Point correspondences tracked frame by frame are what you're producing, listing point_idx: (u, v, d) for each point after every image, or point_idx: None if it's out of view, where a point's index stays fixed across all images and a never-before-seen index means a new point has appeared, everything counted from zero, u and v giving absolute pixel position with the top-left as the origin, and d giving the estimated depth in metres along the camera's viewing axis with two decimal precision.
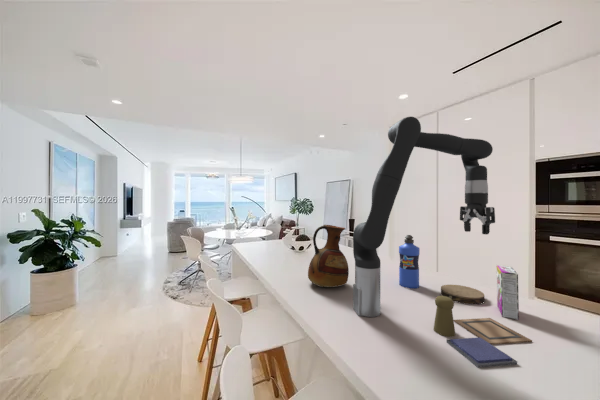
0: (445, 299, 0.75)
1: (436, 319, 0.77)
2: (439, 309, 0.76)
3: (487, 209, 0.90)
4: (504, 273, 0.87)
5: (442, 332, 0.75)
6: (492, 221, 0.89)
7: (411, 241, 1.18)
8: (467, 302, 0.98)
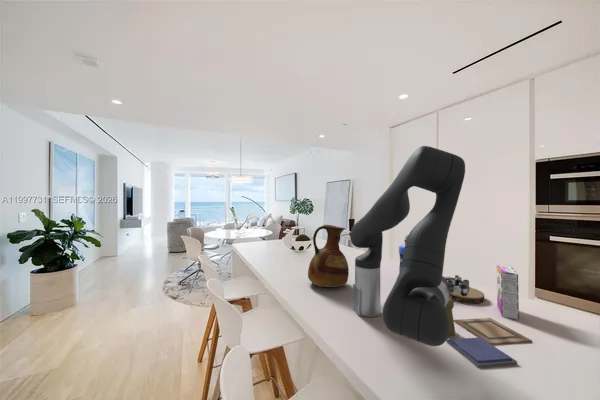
0: None
1: None
2: None
3: None
4: (504, 273, 0.87)
5: None
6: None
7: None
8: (467, 302, 0.98)
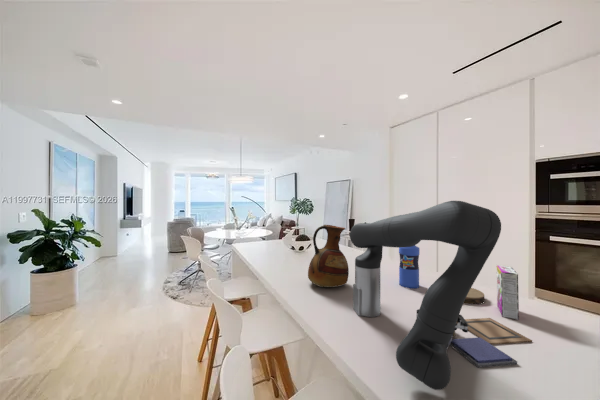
0: None
1: None
2: None
3: (418, 310, 0.76)
4: (504, 273, 0.87)
5: None
6: None
7: None
8: (467, 302, 0.99)
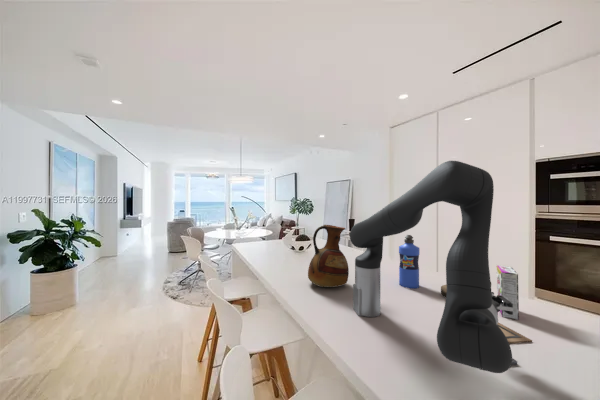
0: None
1: None
2: None
3: None
4: (504, 273, 0.87)
5: None
6: None
7: (411, 241, 1.18)
8: None
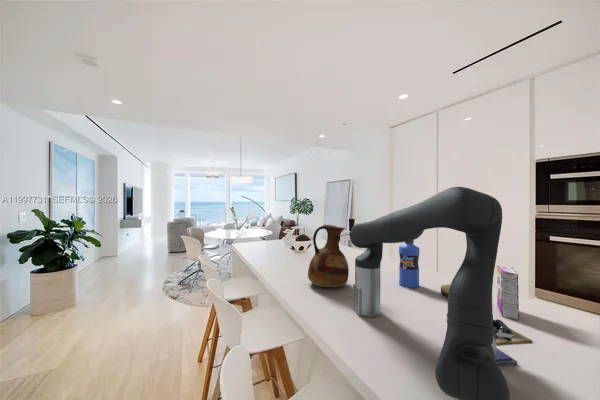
0: None
1: None
2: None
3: None
4: (504, 273, 0.87)
5: None
6: None
7: (411, 241, 1.18)
8: None
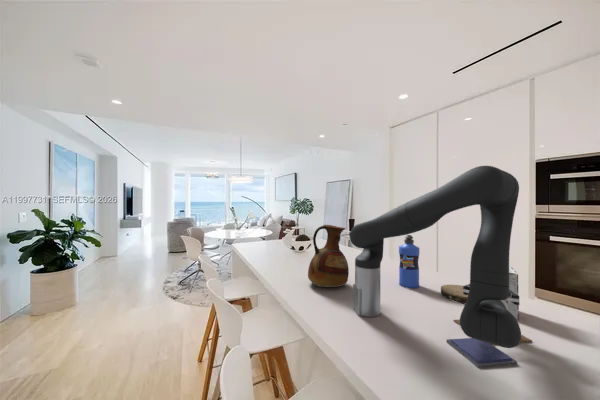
0: None
1: None
2: None
3: (465, 286, 0.77)
4: None
5: None
6: None
7: (411, 241, 1.18)
8: None
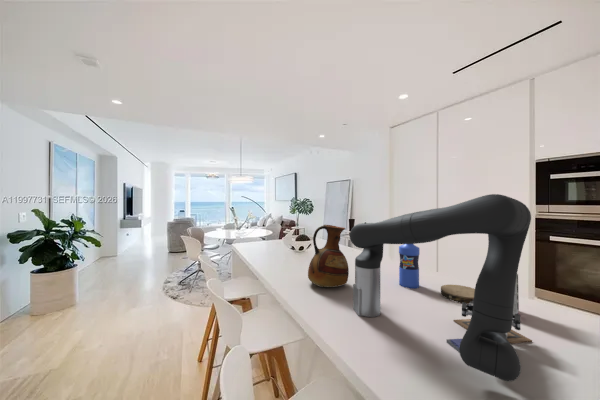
0: None
1: None
2: None
3: (463, 307, 0.76)
4: None
5: None
6: None
7: None
8: (467, 302, 0.99)
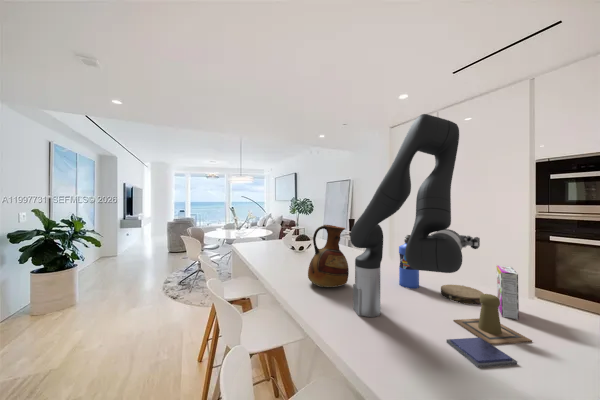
0: (492, 297, 0.76)
1: (481, 316, 0.78)
2: (485, 307, 0.77)
3: None
4: (504, 273, 0.87)
5: (489, 330, 0.75)
6: None
7: None
8: (466, 302, 0.99)
